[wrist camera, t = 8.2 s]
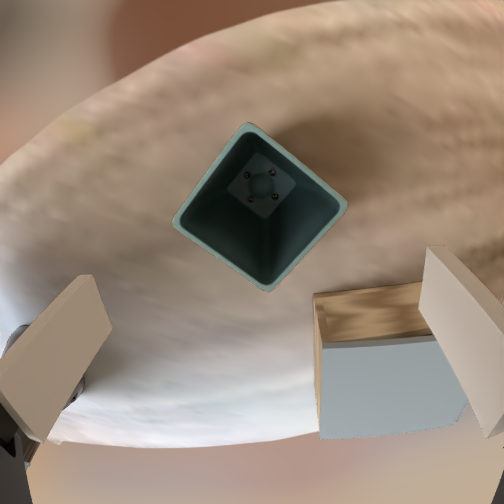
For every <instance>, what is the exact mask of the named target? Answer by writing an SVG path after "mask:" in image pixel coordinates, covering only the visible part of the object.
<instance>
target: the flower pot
mask: <svg viewBox="0 0 504 504" xmlns="http://www.w3.org/2000/svg"><path fill="white" fill-rule="evenodd" d="M270 170H274V171H275V174H274V175H271V174H270V173H269V172H270ZM246 172H249V173H250V177H249V178H246V177H245V176H244V174H245V173H246ZM273 194H277V195H278V198H277V199H273V197H272V195H273ZM249 196H252V197H253V201H251V202H250V201H248V197H249ZM347 208H348V202H347V201H346V200H345V198H344V197H343V196H341V195H340V194H339V193H338V192H337V191H336V190H334V189H333V188H332V187H331V186H330V185H328V184H327V183H326V182H325V181H324V180H322V179H321V178H320V177H319V176H318V175H316V174H315V173H314V172H313V171H312V170H310V169H309V168H308V167H307V166H306V165H304V164H303V163H302V162H301V161H300V160H298V159H297V158H296V157H295V156H293V155H292V154H291V153H290V152H289V151H287V150H286V149H285V148H284V147H282V146H281V145H280V144H279V143H277V142H276V141H275V140H274V139H272V138H271V137H270V136H269V135H267V134H266V133H265V132H264V131H262V130H261V129H260V128H259V127H257V126H256V125H254V124H253V123H250V122H247V123H244V124H243V125H242V126H241V127H240V128H239V129H238V130H237V132H236V133H235V134H234V136H233V137H232V138H231V140H230V141H229V142H228V144H227V145H226V146H225V148H224V149H223V150H222V152H221V153H220V154H219V156H218V157H217V158H216V160H215V161H214V163H213V164H212V165H211V167H210V168H209V169H208V171H207V172H206V173H205V175H204V176H203V177H202V179H201V180H200V181H199V183H198V184H197V186H196V187H195V188H194V190H193V191H192V192H191V194H190V195H189V197H188V198H187V199H186V201H185V202H184V203H183V205H182V206H181V208H180V209H179V210H178V212H177V213H176V214H175V216H174V218H173V220H172V225H173V227H174V228H176V229H177V230H178V231H179V232H180V233H182V234H184V235H185V236H186V237H188V238H189V239H191V240H192V241H193V242H195V243H196V244H198V245H200V246H201V247H202V248H204V249H205V250H207V251H208V252H209V253H211V254H212V255H214V256H215V257H217V258H218V259H219V260H221V261H222V262H224V263H225V264H227V265H228V266H229V267H231V268H232V269H234V270H235V271H237V272H238V273H239V274H241V275H242V276H243V277H245V278H246V279H248V280H249V281H250V282H252V283H253V284H254V285H256V286H257V287H258V288H260V289H262V290H264V291H267V292H270V291H272V290H273V289H274V288H275V287H276V286H277V285H278V284H279V283H280V282H281V281H282V280H283V279H284V278H285V277H286V276H287V275H288V273H289V272H290V271H291V270H292V269H293V268H294V267H295V266H296V265H297V264H298V263H299V261H300V260H301V259H302V258H303V257H304V256H305V255H306V254H307V253H308V252H309V251H310V249H311V248H312V247H313V246H314V245H315V244H316V243H317V242H318V241H319V240H320V239H321V238H322V236H324V235H325V233H326V232H327V231H328V230H329V229H330V228H331V227H332V226H333V225H334V224H335V223H336V222H337V221H338V220H339V219H340V218H341V217H342V216H343V215H344V213H345V212H346V210H347Z"/></svg>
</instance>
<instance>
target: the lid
mask: <svg viewBox="0 0 504 504" xmlns="http://www.w3.org/2000/svg"><path fill="white" fill-rule="evenodd" d="M468 401H469V400H468V398H467V396H466V394H465V392H464V390H463V388H462V386H461V384H460V382H459V380H458V378H457V376H456V374H455V373H454V371H453V369H452V367H451V365H450V363H449V361H448V359H447V358H446V356H445V354H444V352H443V350H442V348H441V347H440V345H439V343H438V341H437V340H436V338H435V336H434V335H429V336H419V337H409V338H397V339H384V340H369V341H351V342H327V343H322V387H321V413H320V432H319V439H339V438H358V437H372V436H383V435H392V434H400V433H409V432H415V431H422V430H429V429H434V428H440V427H445V426H450V425H453V424H454V422H457V421H458V420H459V418H460V416H461V414H462V412H463V410H464V409H465V407H466V405H467V403H468Z"/></svg>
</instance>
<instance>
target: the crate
mask: <svg viewBox="0 0 504 504" xmlns="http://www.w3.org/2000/svg"><path fill="white" fill-rule="evenodd" d="M421 289H422V282H416V283H408V284H401V285H393V286H384V287H376V288H367V289H358V290H349V291H340V292H330V293H320V294H313V317H314V386H315V395H316V404H317V413H318V423H319V431H320V413H321V387H322V343H327V342H351V341H369V340H384V339H397V338H409V337H419V336H429V335H434V334H433V333H432V331H431V329H430V327H429V326H428V324H427V322H426V321H425V319H424V317H423V316H422V314H421V312H420V311H419V309H418V307H419V301H420V295H421Z"/></svg>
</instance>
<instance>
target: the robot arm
mask: <svg viewBox="0 0 504 504" xmlns="http://www.w3.org/2000/svg"><path fill="white" fill-rule="evenodd" d="M418 309H419V311H420V312H421V314H422V316H423V317H424V319H425V321H426V322H427V324H428V326H429V327H430V329H431V331H432V333H433V334H434V336H435V338H436V340H437V341H438V343H439V345H440V347H441V348H442V350H443V352H444V354H445V356H446V358H447V359H448V361H449V363H450V365H451V367H452V369H453V371H454V373H455V374H456V376H457V378H458V380H459V382H460V384H461V386H462V388H463V390H464V392H465V394H466V396H467V398H468V400H469V402H470V404H471V407H472V408H473V411H474V413H475V415H476V417H477V419H478V422H479V424H480V426H481V428H482V430H483V433H484V435H485V438H486V439H487V438H490V437H492V436H495V435H497V434H499V433H502V432H504V306H503V305H502V304H501V303H500V301H499V300H498V299H497V298H496V297H495V296H494V295H493V294H492V293H491V292H490V291H489V290H488V288H487V287H486V286H485V285H484V284H483V283H482V282H481V281H480V280H479V279H478V278H477V277H476V276H475V275H474V274H473V273H472V272H471V271H470V270H469V269H468V268H467V267H466V266H465V265H464V264H463V263H462V262H461V261H460V260H459V259H458V258H457V257H456V256H455V255H454V254H453V253H452V252H451V251H450V250H448V249H447V248H446V247H445V246H444V245H438V246H428V247H427V249H426V258H425V267H424V275H423V282H422V289H421V295H420V301H419V307H418ZM112 329H113V327H112V324H111V322H110V319H109V317H108V315H107V312H106V309H105V307H104V304H103V302H102V299H101V296H100V294H99V291H98V288H97V286H96V283H95V280H94V277H93V274H88V275H78V276H77V277H76V278H75V279H74V280H73V281H72V282H71V283H70V284H69V285H68V286H67V287H66V288H65V289H64V290H63V291H62V292H61V293H60V294H59V295H58V296H57V297H56V298H55V299H54V300H53V301H52V302H51V303H50V305H49V306H48V307H47V308H46V309H45V310H44V311H43V312H42V313H41V314H40V315H39V316H38V317H37V318H36V319H35V320H34V321H33V323H32V324H31V325H30V326H21V327H18V328H17V329H16V330H15V331H14V332H13V333H12V335H11V336H10V337H9V339H8V341H7V344H6V347H5V349H4V352H3V355H2V357H1V359H0V504H33V503H32V499H31V495H30V490H29V485H28V481H27V475H26V470H27V468H28V467H29V466H30V462H31V460H32V458H33V456H34V454H35V452H36V450H37V448H38V446H39V445H40V443H44V441H45V440H46V438H47V436H48V434H49V433H50V431H51V429H52V427H53V425H54V424H55V422H56V420H57V418H58V417H59V415H60V413H61V411H63V410H64V409H65V408H66V407H68V406H69V405H70V404H71V403H72V402H74V401H75V400H76V399H77V398H78V397H79V395H80V394H81V392H82V390H83V388H84V384H85V383H84V377H83V374H84V373H85V371H86V370H87V368H88V366H89V365H90V363H91V362H92V360H93V358H94V357H95V355H96V354H97V352H98V351H99V349H100V347H101V346H102V344H103V343H104V341H105V340H106V338H107V337H108V335H109V334H110V332H111V331H112ZM503 448H504V447H503ZM491 504H504V471H503V474H502V477H501V479H500V483H499V485H498V488H497V490H496V493H495V496H494V498H493V501H492V503H491Z"/></svg>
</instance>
